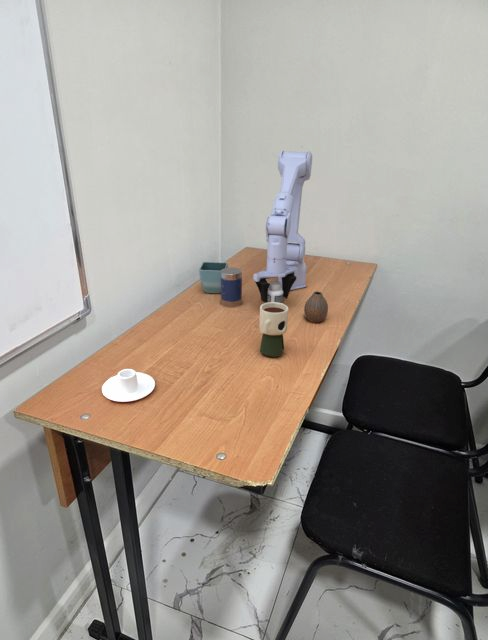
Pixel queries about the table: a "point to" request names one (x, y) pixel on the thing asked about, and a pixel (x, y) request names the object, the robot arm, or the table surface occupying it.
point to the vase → (316, 308)
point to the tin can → (231, 287)
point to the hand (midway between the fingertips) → (274, 299)
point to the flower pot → (211, 276)
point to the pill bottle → (275, 292)
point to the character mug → (273, 328)
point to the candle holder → (128, 386)
